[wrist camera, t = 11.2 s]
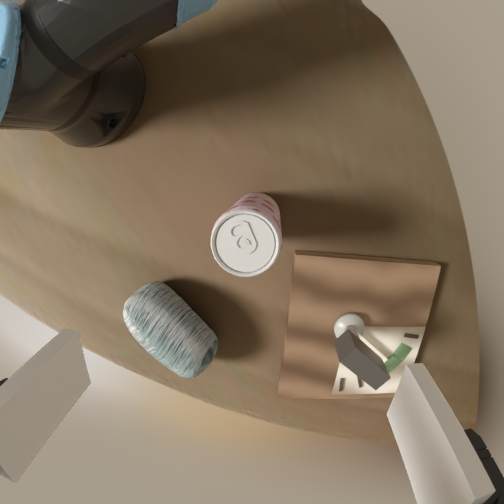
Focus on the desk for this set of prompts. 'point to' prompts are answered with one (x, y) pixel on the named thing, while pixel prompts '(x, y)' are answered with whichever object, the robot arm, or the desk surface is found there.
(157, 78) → the desk surface
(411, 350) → the dial board
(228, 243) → the beverage can
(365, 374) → the grey piece
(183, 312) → the pale teal yarn skein
